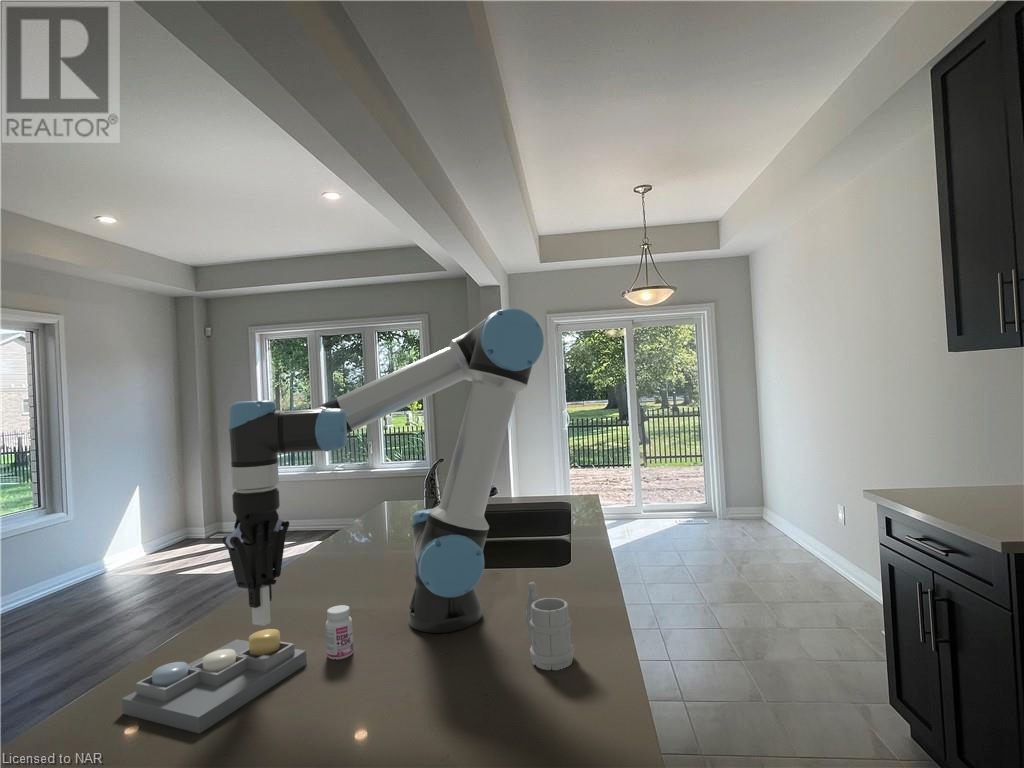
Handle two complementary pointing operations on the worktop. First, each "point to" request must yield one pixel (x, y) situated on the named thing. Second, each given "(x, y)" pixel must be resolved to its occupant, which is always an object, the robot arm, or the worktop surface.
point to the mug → (549, 631)
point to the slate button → (169, 674)
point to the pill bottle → (339, 632)
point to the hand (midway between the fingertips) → (261, 623)
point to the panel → (213, 688)
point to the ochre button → (264, 642)
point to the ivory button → (219, 660)
